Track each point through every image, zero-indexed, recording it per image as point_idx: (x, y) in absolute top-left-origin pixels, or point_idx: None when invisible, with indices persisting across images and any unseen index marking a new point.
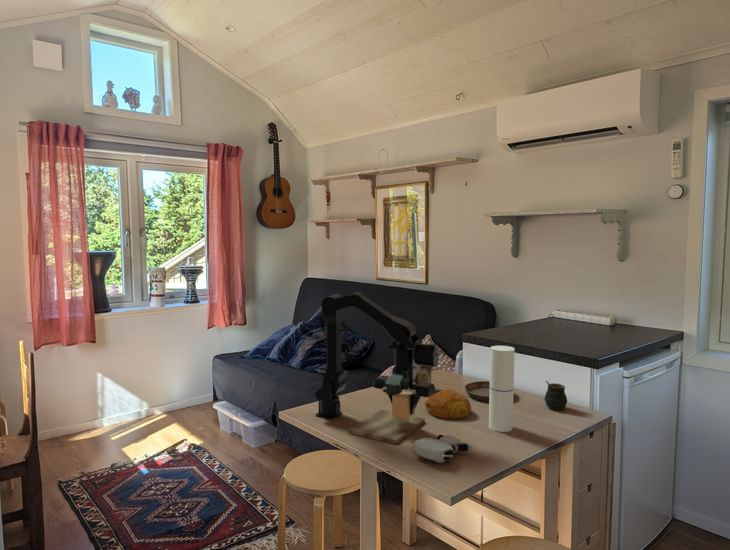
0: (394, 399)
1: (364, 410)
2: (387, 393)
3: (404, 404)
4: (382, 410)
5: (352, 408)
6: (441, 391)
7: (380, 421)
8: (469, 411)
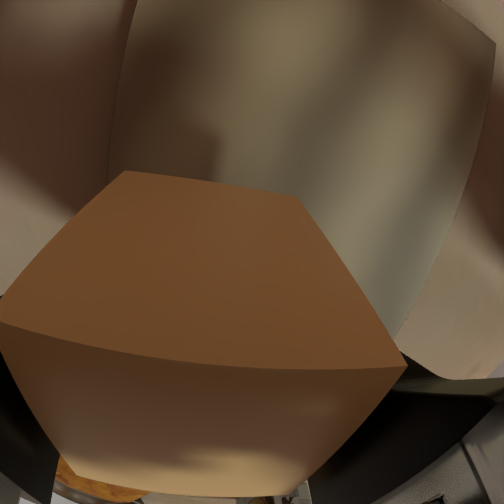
0: (334, 310)
1: (436, 341)
2: (477, 381)
3: (108, 247)
4: None
5: (471, 335)
6: (128, 497)
7: (374, 203)
8: None
